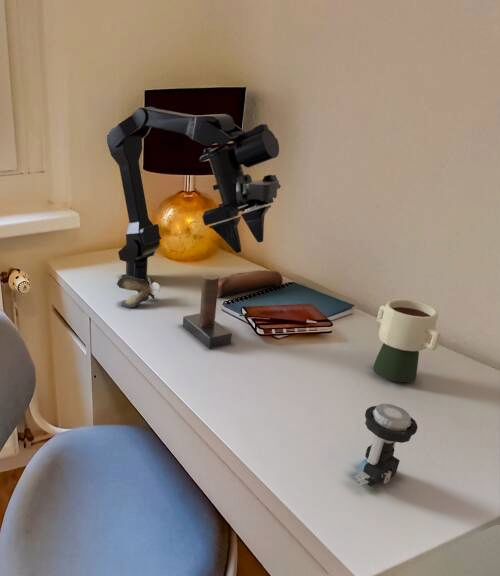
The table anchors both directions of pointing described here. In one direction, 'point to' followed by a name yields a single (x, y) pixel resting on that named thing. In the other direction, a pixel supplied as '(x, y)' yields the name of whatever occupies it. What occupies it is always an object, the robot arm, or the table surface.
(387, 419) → the push button
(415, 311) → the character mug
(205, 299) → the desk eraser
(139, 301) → the eagle figurine
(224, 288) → the sunglasses case
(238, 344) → the table surface
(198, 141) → the robot arm
